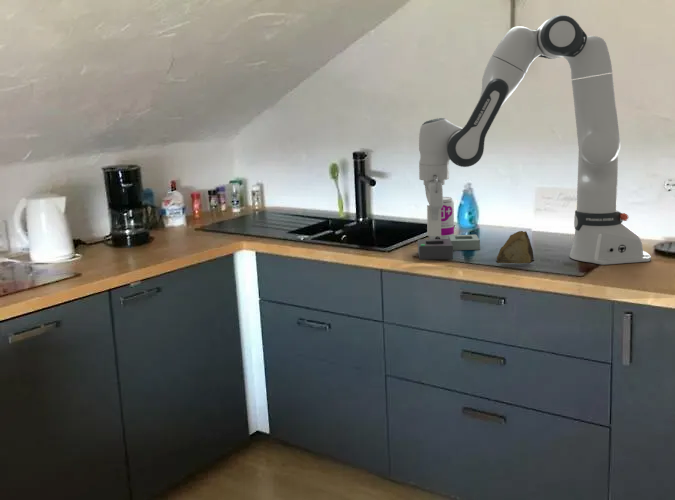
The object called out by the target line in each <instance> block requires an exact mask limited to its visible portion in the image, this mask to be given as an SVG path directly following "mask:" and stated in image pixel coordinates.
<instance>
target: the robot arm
mask: <svg viewBox="0 0 675 500" xmlns="http://www.w3.org/2000/svg"><path fill="white" fill-rule="evenodd" d="M536 58H545V59H550V60H553V59H554V60H555V59H561V58H564V59H565V60H566V62H567V63H568V65H569V68H570V77H571V86H572V87H571V88H572V94H573V95H572V96H573V105H574V115H575V124H576V133H577V134H576V135H577V144H578V145H577V146H578V156H577V157H578V159H577V163H578V164H577V187H576V190H577V191H576V209H575V210H574V219H573V220H574V222H573V225H574V226H573V227H574V236H573V242H572V246H571V249H570V253H569V258H571V259H572V260H576V261H580V262H586V263H592V264H597V265H602V266H604V265H605V266H606V265H616V264H630V263H631V264H632V263H643V262H644V263H645V262H650V261H651V260H652V258H651V257H652V255H650V254H649V253H648V252H647V251H644V249H643V241H642V238H641V237H640V236H639V235H638V234H637V233H636V232H634V231H633V230H632V229H630V228H629V227H628V226H627V225H625V224H624V223H623V222H625V221H626V222H627V221H628V220H629V215H628V214H627V213H624V212H621V211H619V210H617V204H618V203H617V202H618V181H619V180H618V174H619V173H618V169H619V168H618V166H619V153H620V151H621V138H620V128H619V120H618V114H617V112H618V111H617V106H616V105H617V104H616V95H615V85H614V84H615V83H614V75H613V74H614V73H613V67H612V66H613V65H612V61H611V55H610V52H609V48H608V46H607V43H606V40H604V38H602V37H600V36H597V35H589V36H587V33H586V32H585V31H584V30H583V29H582V27H581V26H580V24H579V23H578V22H577V20H575V19H574V18H573V17H571V16H569V15H566V14H565V15H564V14H559V15H554V16H552V17H550V18H548V19H547V20H545V21H544V22H543V23H542V24H541V25H540V26H539V27H537V28H536V29H530V28H528V27H525V26H523V25H522V26H519V25H518V26H514V27H511V28H510V29H509V30H508V31H507V33H506V34H505V35H504V37H503V38H502V39H501V40H500V42H499V43H498V45H497V46H496V47H495V49H494V51H493V53H492V54H491V57H490V58H489V60H488V62H487V65H486V67H485V70H484V73H483V75H482V80H481V81H482V82H481V92H480V96H479V99H478V101H477V103H476V105H475V107H474V110H473V111H472V113H471V114H470V117H469V118H468V121H467V122H466V124H465V125H464V127H461V126H459V125H456V124H454V123H452V122H451V121H449V120H447V118H445V117H439V118H434V119H429V120H426V121H424V122H423V123H422V125H421V126H420V128H419V134H418V135H419V137H418V150H419V154H420V156H419V157H420V158H419V161H418V163H419V165H418V168H419V169H418V171H419V172H418V173H419V174H418V177H419V180H420V181H423V185H424V189H425V190H424V192H425V197H426V199H427V203H428V205H430V208H431V209H432V220H438V211H439V209H440V208H442V207H443V197H444V195H443V186H445V185H446V184H445V181H446V180H449V178H450V161H451V162H452V163H453V164H454V165H456V166H457V167H461V168H469V167H471V166H474V165H476V164H477V163H478V162H479V161H480V160H481V158H482V157H483V154H484V151H485V140H486V136H487V134H488V132H489V130H490V128H491V126H492V124H493V123H494V120H495V118H496V117H497V114H498V113H499V111H500V109H501V108H502V106H503V105H504V103H506V101H507V100H508V99H509V97H511V95H512V94H513V93H514V92H515V90H516V89H517V88H518V86H519V85H520V84H521V83H522V81H523V79H524V77H525V76H526V73H528V70H529V68H530V67H531V65H532V63H533V62H534V60H536Z"/></svg>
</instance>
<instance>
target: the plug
mask: <svg viewBox="0 0 675 500" xmlns="http://www.w3.org/2000/svg"><path fill="white" fill-rule="evenodd" d="M426 217H427V218H426V223H427V227H426V230H427V231H426V232H427V234H426V235H427V237H430V236H441V208H440V209H439V211H438V220H432V209H431V208H430V205H429V204H428V205H426Z"/></svg>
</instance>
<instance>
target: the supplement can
mask: <svg viewBox="0 0 675 500" xmlns="http://www.w3.org/2000/svg"><path fill="white" fill-rule="evenodd" d="M448 235H455V202H454V199H453V198H452V197H451V196H443V207H442V208H441V236H429V239H448Z"/></svg>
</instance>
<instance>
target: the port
mask: <svg viewBox="0 0 675 500" xmlns="http://www.w3.org/2000/svg"><path fill="white" fill-rule="evenodd" d="M417 254H418V259H419V260H450V259H451V260H453V258H454V250H453V245H452V243H451V240H450V239H430V238H429V239H428V238H427V239H425V238H424V239H417Z"/></svg>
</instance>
